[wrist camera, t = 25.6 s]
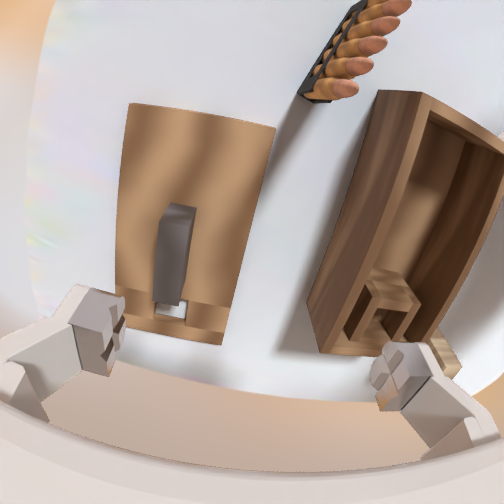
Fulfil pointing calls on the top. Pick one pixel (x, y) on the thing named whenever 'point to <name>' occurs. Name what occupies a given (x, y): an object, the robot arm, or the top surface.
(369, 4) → the ammunition clip
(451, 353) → the pin
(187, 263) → the lid
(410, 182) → the toolbox
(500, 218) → the top surface
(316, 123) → the top surface
